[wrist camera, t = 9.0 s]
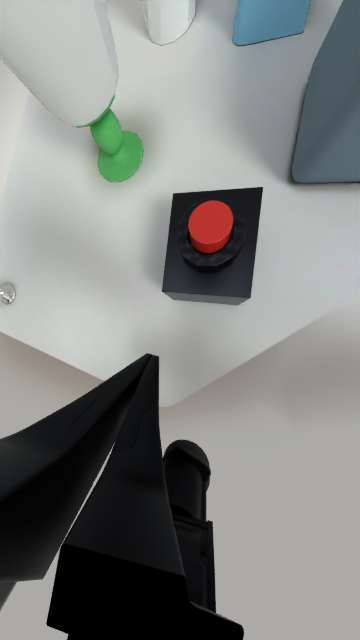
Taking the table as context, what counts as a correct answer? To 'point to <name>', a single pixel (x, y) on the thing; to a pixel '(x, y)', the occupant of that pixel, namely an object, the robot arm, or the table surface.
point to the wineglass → (7, 293)
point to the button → (210, 226)
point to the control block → (218, 267)
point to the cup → (71, 71)
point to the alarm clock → (332, 106)
